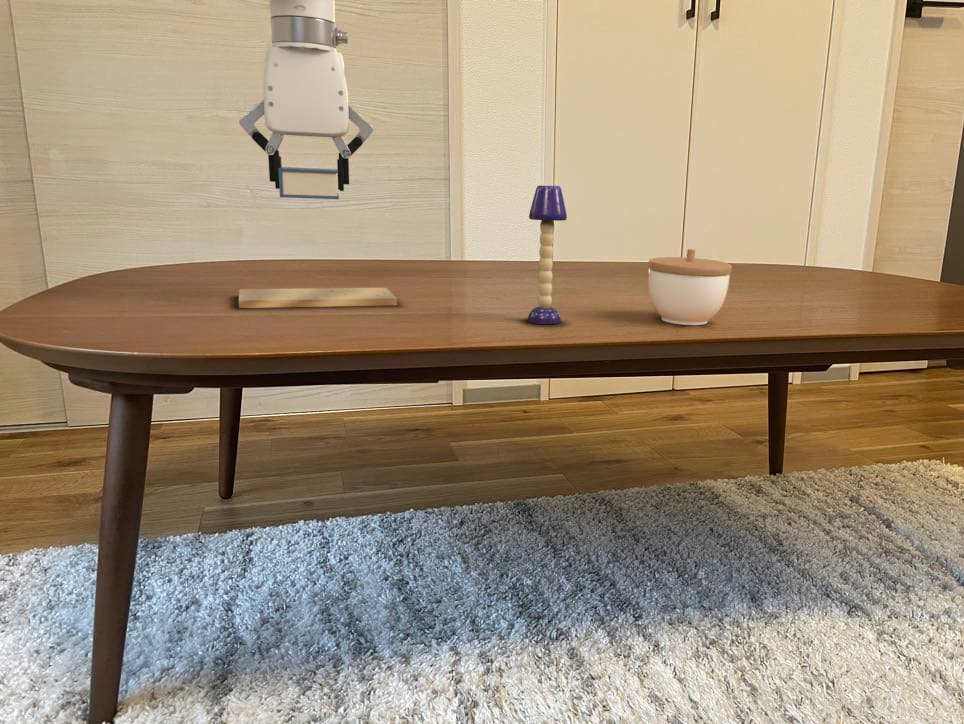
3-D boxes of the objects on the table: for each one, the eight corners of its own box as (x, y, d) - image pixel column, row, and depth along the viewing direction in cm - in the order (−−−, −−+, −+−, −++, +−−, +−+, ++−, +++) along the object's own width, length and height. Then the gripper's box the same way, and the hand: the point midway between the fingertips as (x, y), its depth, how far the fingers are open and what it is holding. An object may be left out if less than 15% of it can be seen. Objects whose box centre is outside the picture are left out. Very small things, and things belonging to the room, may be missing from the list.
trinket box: (661, 310, 110) (667, 243, 108) (735, 320, 105) (744, 250, 103) (630, 321, 102) (636, 248, 99) (709, 332, 96) (718, 256, 94)
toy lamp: (517, 319, 99) (522, 184, 94) (543, 316, 102) (549, 184, 97) (544, 326, 96) (550, 186, 91) (569, 322, 99) (577, 186, 94)
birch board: (239, 308, 98) (238, 300, 98) (239, 296, 106) (239, 288, 106) (397, 305, 105) (397, 298, 105) (386, 294, 113) (386, 287, 113)
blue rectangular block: (284, 193, 104) (283, 167, 103) (338, 195, 106) (337, 169, 105) (279, 197, 95) (278, 168, 94) (338, 199, 96) (338, 170, 95)
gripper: (375, 48, 100) (377, 190, 106) (231, 36, 96) (241, 185, 101) (378, 40, 93) (380, 193, 99) (224, 27, 89) (235, 188, 94)
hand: (310, 188), depth 100 cm, fingers closed on blue rectangular block, 7 cm apart
